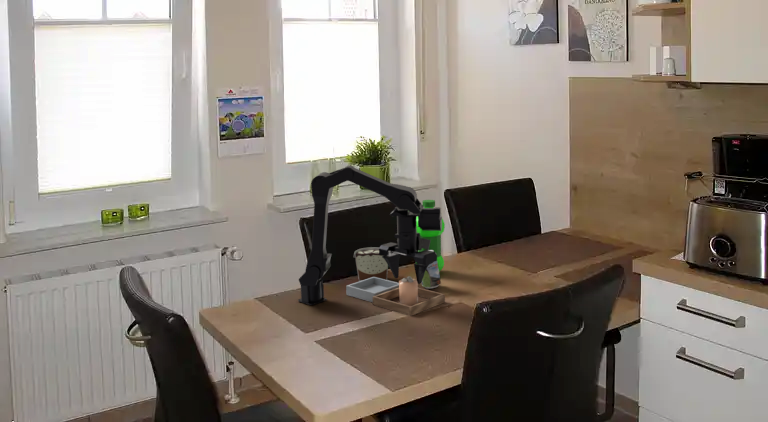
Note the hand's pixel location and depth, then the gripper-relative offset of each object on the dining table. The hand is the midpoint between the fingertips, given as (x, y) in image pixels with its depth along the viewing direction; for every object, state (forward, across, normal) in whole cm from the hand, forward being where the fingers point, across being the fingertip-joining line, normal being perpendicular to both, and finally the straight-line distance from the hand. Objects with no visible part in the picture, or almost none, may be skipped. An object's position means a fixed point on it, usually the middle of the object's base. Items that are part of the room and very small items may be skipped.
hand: (407, 280), depth 239 cm
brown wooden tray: (+7, 0, 0) cm, 7 cm away
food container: (+7, +26, -12) cm, 30 cm away
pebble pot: (+7, 0, 0) cm, 7 cm away
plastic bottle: (+7, +15, -28) cm, 33 cm away
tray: (+7, +14, 0) cm, 16 cm away
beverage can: (+7, +5, -16) cm, 18 cm away
